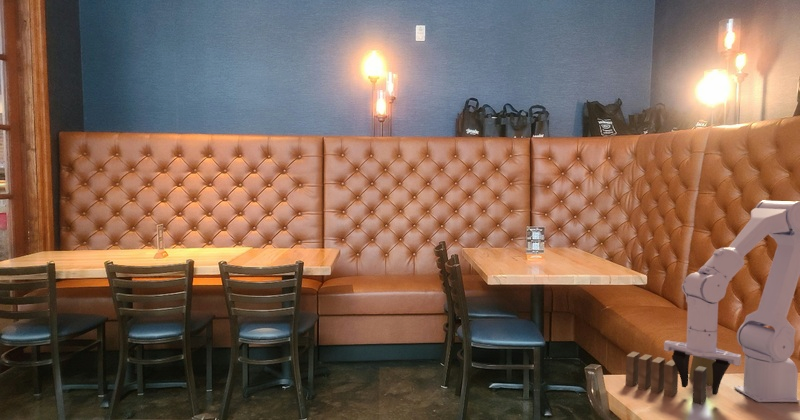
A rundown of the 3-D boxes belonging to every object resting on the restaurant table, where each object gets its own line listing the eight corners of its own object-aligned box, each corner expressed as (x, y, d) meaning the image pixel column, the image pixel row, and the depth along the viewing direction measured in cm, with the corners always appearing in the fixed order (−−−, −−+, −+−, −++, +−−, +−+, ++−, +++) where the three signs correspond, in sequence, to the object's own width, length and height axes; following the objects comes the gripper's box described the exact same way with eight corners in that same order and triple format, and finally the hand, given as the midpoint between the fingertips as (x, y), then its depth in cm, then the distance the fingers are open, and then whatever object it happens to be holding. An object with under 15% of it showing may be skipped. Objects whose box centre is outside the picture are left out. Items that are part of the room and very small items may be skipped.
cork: (722, 386, 122) (723, 340, 121) (693, 384, 123) (695, 338, 122) (712, 377, 128) (713, 333, 127) (685, 375, 129) (686, 331, 128)
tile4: (651, 384, 122) (652, 355, 122) (645, 390, 119) (646, 360, 119) (644, 383, 123) (645, 354, 123) (637, 388, 120) (638, 358, 120)
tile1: (706, 398, 114) (707, 367, 114) (700, 404, 111) (701, 372, 111) (697, 396, 115) (699, 365, 115) (692, 402, 112) (693, 370, 112)
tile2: (677, 391, 118) (678, 361, 118) (671, 397, 115) (672, 366, 115) (669, 389, 120) (670, 359, 119) (663, 394, 116) (664, 364, 116)
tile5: (639, 381, 124) (640, 352, 124) (632, 386, 121) (633, 357, 121) (632, 379, 125) (633, 351, 125) (625, 384, 122) (626, 355, 122)
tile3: (664, 388, 120) (665, 358, 120) (658, 393, 117) (659, 363, 117) (656, 386, 121) (657, 356, 121) (650, 391, 118) (651, 361, 118)
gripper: (660, 325, 115) (658, 385, 115) (736, 339, 105) (734, 404, 105) (670, 319, 120) (668, 377, 121) (744, 332, 110) (741, 395, 111)
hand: (699, 389), depth 113 cm, fingers open, 5 cm apart
